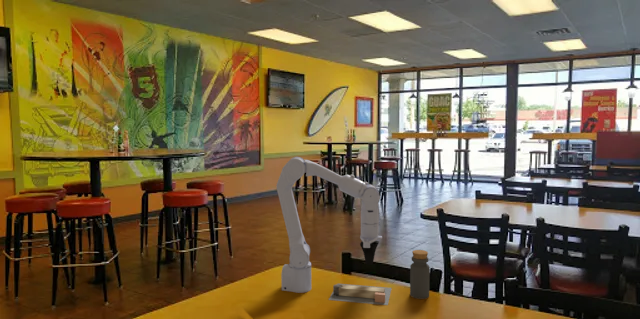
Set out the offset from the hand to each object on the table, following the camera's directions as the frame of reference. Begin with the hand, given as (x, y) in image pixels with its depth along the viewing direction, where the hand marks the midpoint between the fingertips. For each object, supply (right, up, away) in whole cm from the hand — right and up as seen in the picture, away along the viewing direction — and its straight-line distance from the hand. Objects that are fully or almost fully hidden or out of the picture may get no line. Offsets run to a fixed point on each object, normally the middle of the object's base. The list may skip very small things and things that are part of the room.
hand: (369, 263), depth 142 cm
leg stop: (+2, -9, -10) cm, 14 cm away
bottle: (+15, -10, -5) cm, 19 cm away
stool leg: (-4, -8, -6) cm, 11 cm away
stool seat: (-3, -10, -4) cm, 11 cm away
